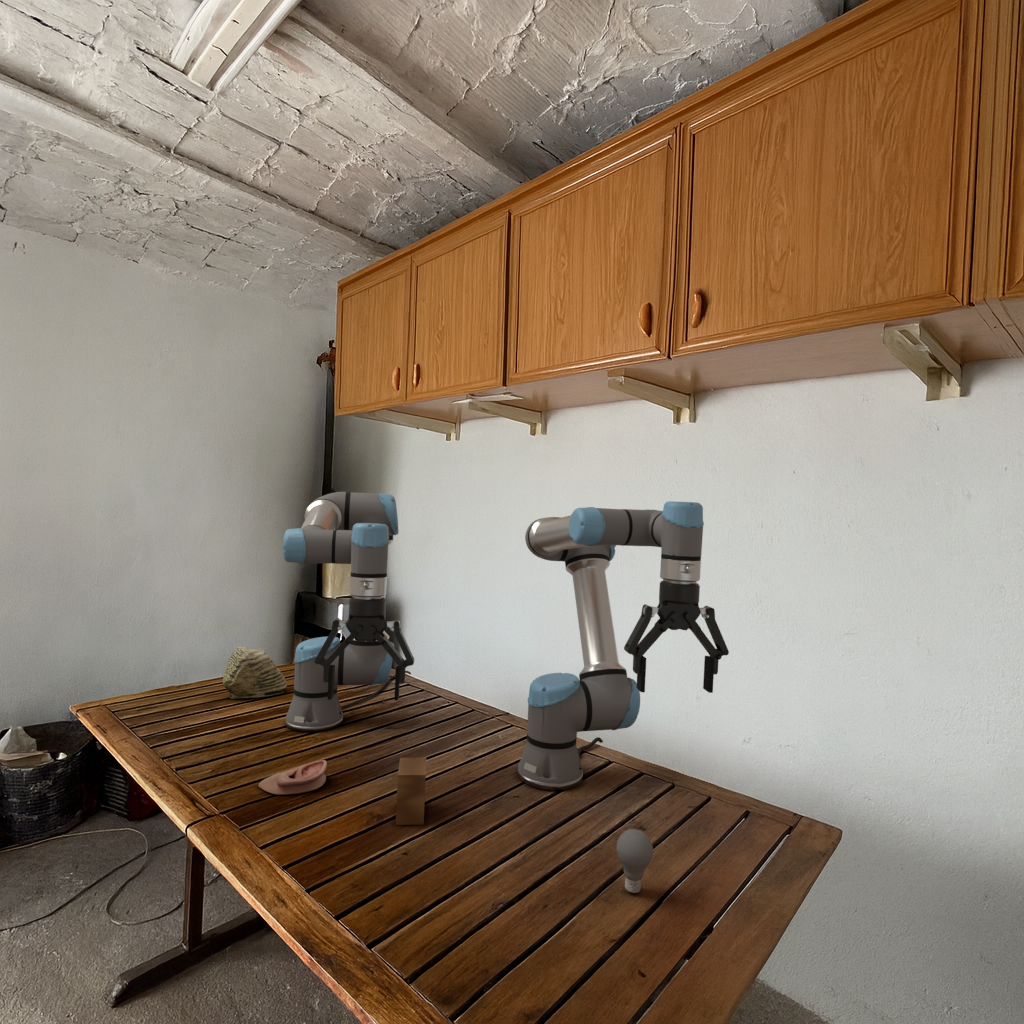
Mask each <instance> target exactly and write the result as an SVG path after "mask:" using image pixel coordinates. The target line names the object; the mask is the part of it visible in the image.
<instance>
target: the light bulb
mask: <svg viewBox="0 0 1024 1024" xmlns="http://www.w3.org/2000/svg"><path fill="white" fill-rule="evenodd" d="M615 849H616V854H617V857H618V859H619V861H620V863H621V865H622V867H623V873H624V874H623V875H624V876H625V878H624V888H625V890H627V891H628V892H630V893H634V894H635V893H639V892H640V891H641V889H642V887H641V886H642V879H643V877H644V875H645V871H646V868H647V867H648V866H649V864H650V863H651V861H652V859H653V855H654V847H653V843H652V841H651V838H649V836H648V835H647V834H646V833H645V832H643V831H642V830H641V829H636V828H629V829H627V830H625V831H623V832H622V833H621V834H620V835H619V837H618V839H617V841H616V847H615Z"/></svg>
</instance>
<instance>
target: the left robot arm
mask: <svg viewBox="0 0 1024 1024" xmlns="http://www.w3.org/2000/svg"><path fill="white" fill-rule="evenodd" d="M398 518H399V517H398V508H397V501H396V498H395V496H394V495H392V494H389V493H381V492H355V491H354V492H352V491H351V492H350V491H336V492H335V491H334V492H330V493H327V494H324V495H322V496H319V497H317V498H316V499H314V500H313V501H312V502H310V504H309V505H308V506H307V507H306V509H305V512H304V521H303V523H302V525H301V527H297V528H287V529H286V530H285V532H284V534H283V539H282V540H283V541H282V554H283V555H282V557H283V560H284V561H285V562H287V563H296V564H336V565H337V564H338V565H350V577H349V595H350V596H351V597H350V598H349V599H348V617H347V619H346V620H344V619H340V618H339V617H336V618H335V619H334V620H333V621H332V624H331V630H330V632H329V634H328V635H327V636H320V637H313V638H310V639H306V640H303V641H302V642H299V643H298V644H297V645H296V648H295V655H294V660H293V663H294V674H293V675H294V680H293V695H292V696H293V697H292V699H291V702H290V704H289V708H288V711H287V713H286V715H285V726H286V728H287V729H289V730H291V731H294V732H295V731H296V732H301V733H316V732H325V731H329V730H332V729H335V728H337V727H339V726H340V725H342V723H343V722H344V714H343V709H345V708H347V707H348V708H349V707H350V706H353V705H355V704H359V703H360V702H364V701H366V700H369V699H371V698H373V697H374V696H376V695H378V694H379V693H381V691H382V690H383V689H384V688H386V686H387V685H388V684H389V682H390V681H391V680H393V679H394V699H393V700H394V701H399V699H400V685H401V684H404V683H405V681H406V674H408V675H412V673H411V672H410V671H409V670H406V669H407V667H410V666H414V664H415V657H414V655H413V653H412V651H411V648H410V646H409V644H408V641H407V640H406V638H405V636H404V634H403V631H402V628H401V620H400V619H398V618H397V619H395V620H390V621H389V620H388V621H387V619H386V613H387V612H386V609H387V599H386V595H387V587H388V586H387V585H388V558H389V545H391V544H392V543H393V542H394V536H397V535H399V519H398ZM344 627H346V629H347V631H348V632H349V633H350V634H348V635H347V637H346V638H345V639H344V640H343V641H342V642H341V640H340V638H339V637H337V635H338V633H339V631H342V630H343V628H344ZM387 628H389V630H390V631H391V632H393V633H394V636H395V639H396V641H397V643H398V645H399V648H400V649H401V652H402V654H403V656H404V658H405V659H404V658H403V656H402V655H401V654H400V653H399V652H398V650H397V649H396V648H395V643H394V642H392V641H390V635H389V634H388V633H387V632H386V630H387ZM393 661H394V662H395V664H396V667H395V672H394V673H395V674H394V675H392V676H390V675H391V671H392V665H393ZM374 685H382V686H381V687H380V688H379V689H378V690H377V691H375V692H374V693H372V694H370V695H368V696H365V697H363V698H360V699H356V700H355V701H352V702H350V703H346V704H344V705H341V702H340V699H339V695H338V686H371V687H372V686H374Z"/></svg>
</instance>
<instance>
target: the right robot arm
mask: <svg viewBox="0 0 1024 1024" xmlns="http://www.w3.org/2000/svg"><path fill="white" fill-rule="evenodd" d="M704 525H705V522H704V507H703V505H702V504H701V503H700V502H695V501H672V500H671V501H666V502H665V503H664V504H663V509H662V510H657V509H634V508H633V509H632V508H631V509H629V508H604V507H603V508H602V507H594V506H585V507H577V508H575V509H573V511H572V513H571V514H570V515H566V516H561V517H559V516H548V517H541V518H538V519H536V520H534V521H532V522H531V523H530V524H529V525H528V527H527V529H526V531H525V536H524V538H525V539H524V541H525V545H526V547H527V549H528V550H529V552H530V553H532V554H533V555H534V556H536V557H537V558H538V559H539V558H540V559H542V560H544V561H550V562H564V564H565V571H566V572H567V573H568V574H570V575H571V576H572V582H573V583H572V584H573V589H574V598H575V606H576V613H577V621H578V629H579V638H580V644H581V653H582V660H583V668H582V669H581V671H580V672H579V673H578V676H577V675H576V674H574V673H569V672H564V673H562V672H551V673H546V674H543V675H540V676H537V677H535V678H534V679H532V681H531V682H530V685H529V690H528V697H527V726H526V727H527V729H526V741H525V742H526V743H525V745H524V748H523V752H522V755H521V758H520V760H519V761H518V765H517V777H518V779H519V780H520V782H522V783H524V785H527V786H529V787H532V788H535V789H539V790H544V791H565V790H569V789H570V790H571V789H574V788H576V787H578V786H579V785H581V784H582V782H583V779H584V778H583V777H584V769H583V766H582V762H581V758H580V756H581V754H582V752H583V751H586V750H589V749H591V748H592V747H593V746H594V745H596V744H597V743H600V744H601V743H602V744H603V743H604V740H603V739H602V738H601V737H599V736H596V737H595V738H594V739H593V740H592V741H591V742H590V743H588V744H586V745H583V746H580V747H579V748H578V746H577V738H578V737H577V736H578V733H579V732H580V733H581V732H591V731H592V732H596V731H610V730H611V731H617V730H622V729H627V728H630V727H632V726H633V725H634V724H635V722H636V721H637V719H638V715H639V713H640V709H641V693H645V692H646V678H647V677H646V676H647V675H646V674H647V658H646V657H645V656H644V655H645V654H646V653H647V652H648V650H649V649H650V648H651V647H652V646H653V645H654V643H655V642H656V641H657V640H658V639H659V638H660V637H661V636H662V634H663V633H665V632H667V631H668V630H671V631H677V630H681V631H688V630H690V631H691V632H692V634H693V635H694V636H695V637H696V639H697V640H698V641H699V643H700V644H701V646H702V647H703V648H704V650H705V651H706V652H707V654H708V655H704V662H703V663H704V664H703V683H702V684H703V685H702V689H703V690H704V691H706V692H707V693H709V694H713V693H714V676H715V675H718V674H719V661H720V660H721V659H722V657H723V656H728V655H729V654H730V650H729V648H728V647H727V643H726V641H725V639H724V637H723V634H722V632H721V629H720V627H719V625H718V622H717V620H716V612H715V611H716V610H715V608H714V607H711V606H709V605H705V606H703V607H700V605H699V603H700V588H701V585H700V584H699V583H698V582H699V581H701V568H702V549H703V535H704V534H703V533H704ZM617 546H623V547H624V546H626V547H654V548H655V547H656V548H661V552H660V553H661V554H660V571H659V578H660V579H662V580H661V581H659V589H658V605H657V606H652V605H649V604H647V603H646V604H643V605H642V607H641V614H640V617H639V618H638V620H637V622H636V624H635V625H634V627H633V629H632V631H631V633H630V635H629V637H628V639H627V640H626V643H625V644H624V646H623V650H624V651H625V652H626V653H628V654H629V655H632V671H633V673H635V674H636V680H635V679H634V678H631V677H628V672H627V668H626V667H624V666H623V665H622V664H621V663H620V661H619V655H618V648H617V647H618V646H617V641H616V633H615V629H614V621H613V613H612V609H611V601H610V595H609V588H608V581H607V580H608V579H607V574H606V571H607V570H608V568H609V567H610V565H611V561H612V560H613V559H614V557H615V555H616V549H615V548H616V547H617ZM656 614H657V616H658V617H659V618H658V619H657V621H656V622H655V623H654V625H653V627H651V629H650V630H649V631H648V632H647V634H646V635H644V634H645V632H646V630H647V628H648V626H649V625H650V623H651V620H652V618H654V617H655V615H656ZM700 616H701V617H702V618H703V619H704V622H705V624H706V627H707V629H708V631H709V634H710V636H711V639H712V641H713V643H714V645H715V646H714V645H713V643H712V642H711V640H710V639H709V638H708V637H707V635H706V634H705V632H704V631H703V630H702V628H701V626H700V625H699V624H698V623H697V619H698V618H699V617H700ZM643 636H644V637H643ZM642 637H643V638H642Z"/></svg>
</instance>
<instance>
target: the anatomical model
mask: <svg viewBox="0 0 1024 1024" xmlns="http://www.w3.org/2000/svg"><path fill="white" fill-rule="evenodd" d="M327 768H328V763H327V760H325V759H320V760H315V761H312V762H308V763H305V764H302V765H299V766H297V767H294V768H291V769H288V770H286V771H281V772H278V773H275V774H273V775H270V776H267V777H266V778H264V779H263V780H261V781H260V782H259V783H258V784H257V786H258V787H259V788H260V789H261V790H263V791H264V792H267V793H269V794H271V795H295V794H301V793H306V792H307V793H308V792H310V791H315V790H317V789H319V788H320V787H322V786H323V785H324V784H325V783H326V780H327V776H326V774H325V772H326V770H327Z"/></svg>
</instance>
